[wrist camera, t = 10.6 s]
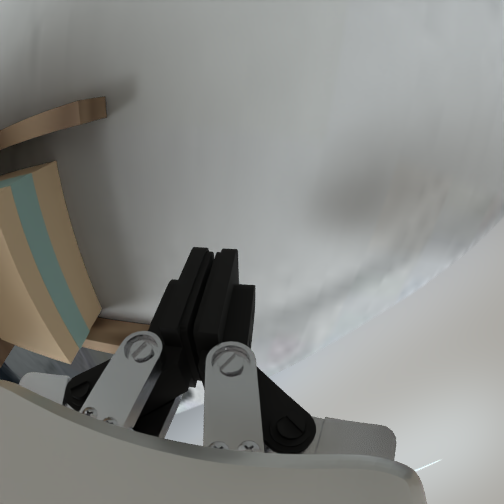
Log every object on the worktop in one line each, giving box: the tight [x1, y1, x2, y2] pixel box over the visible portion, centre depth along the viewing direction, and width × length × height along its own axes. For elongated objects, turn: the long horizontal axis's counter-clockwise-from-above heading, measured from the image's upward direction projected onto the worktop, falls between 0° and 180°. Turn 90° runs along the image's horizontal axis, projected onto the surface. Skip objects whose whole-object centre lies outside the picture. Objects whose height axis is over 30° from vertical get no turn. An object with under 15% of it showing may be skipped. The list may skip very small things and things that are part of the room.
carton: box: [0, 161, 102, 364], centre depth 15 cm, size 9×12×6 cm
